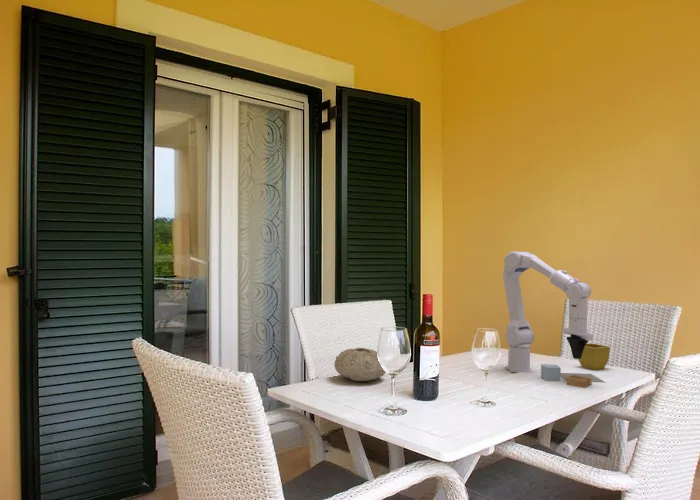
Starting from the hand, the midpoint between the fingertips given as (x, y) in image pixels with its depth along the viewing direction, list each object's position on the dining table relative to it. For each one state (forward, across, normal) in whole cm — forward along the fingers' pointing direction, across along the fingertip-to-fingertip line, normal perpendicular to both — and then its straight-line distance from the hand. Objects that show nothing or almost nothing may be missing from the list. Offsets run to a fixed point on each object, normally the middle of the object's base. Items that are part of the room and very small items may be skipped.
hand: (577, 358), depth 180 cm
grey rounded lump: (+9, -9, -72) cm, 74 cm away
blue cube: (+8, -4, -7) cm, 12 cm away
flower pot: (+8, -20, +19) cm, 29 cm away
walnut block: (+8, +4, -2) cm, 10 cm away
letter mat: (+8, -6, +4) cm, 11 cm away
